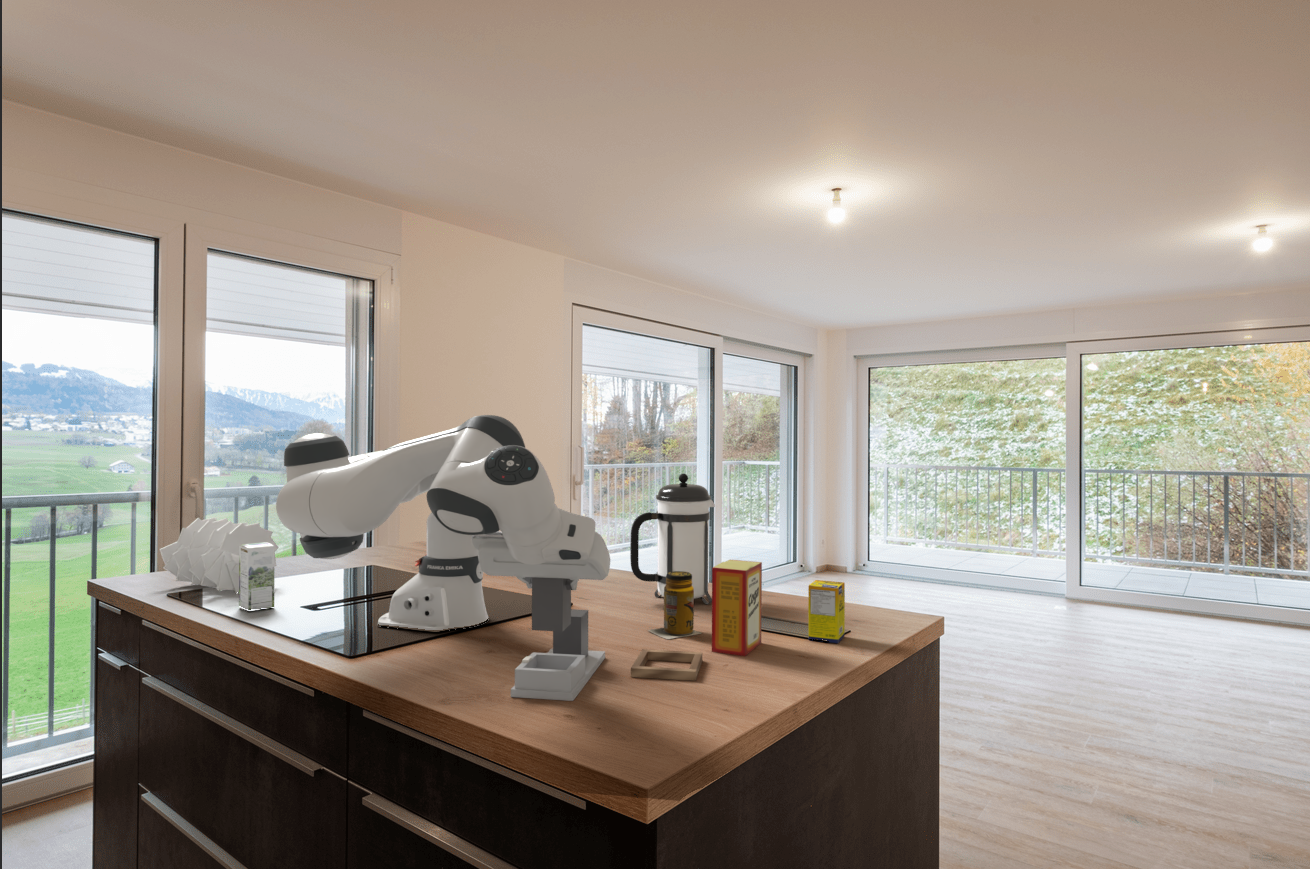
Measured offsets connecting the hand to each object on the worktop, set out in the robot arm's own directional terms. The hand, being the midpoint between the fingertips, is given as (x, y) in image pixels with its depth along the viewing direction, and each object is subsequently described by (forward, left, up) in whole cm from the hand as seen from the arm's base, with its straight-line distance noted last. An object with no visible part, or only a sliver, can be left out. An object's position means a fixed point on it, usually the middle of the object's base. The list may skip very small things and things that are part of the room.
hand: (553, 585), depth 130 cm
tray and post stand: (0, +5, -16) cm, 17 cm away
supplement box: (+45, +36, -17) cm, 60 cm away
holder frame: (+17, +12, -16) cm, 27 cm away
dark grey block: (0, -1, -6) cm, 6 cm away
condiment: (+15, +35, -17) cm, 42 cm away
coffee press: (+12, +62, -17) cm, 66 cm away
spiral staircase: (-102, +55, -17) cm, 117 cm away
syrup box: (-80, +38, -17) cm, 90 cm away
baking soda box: (+28, +27, -17) cm, 42 cm away
